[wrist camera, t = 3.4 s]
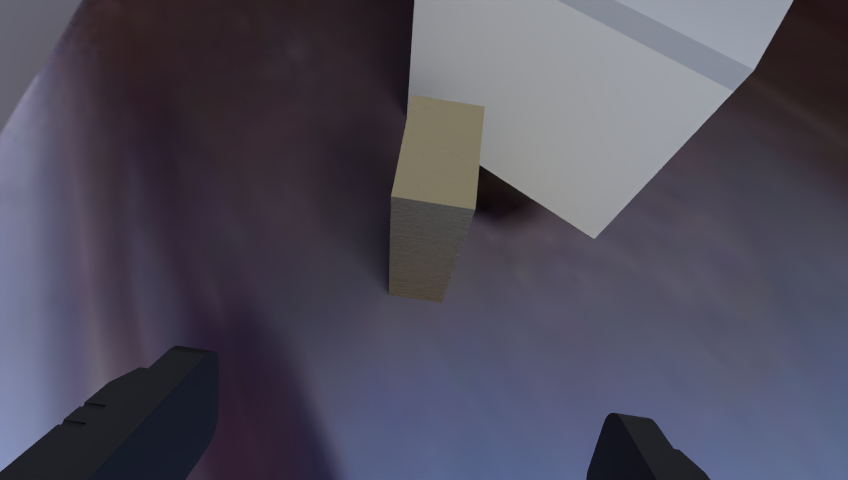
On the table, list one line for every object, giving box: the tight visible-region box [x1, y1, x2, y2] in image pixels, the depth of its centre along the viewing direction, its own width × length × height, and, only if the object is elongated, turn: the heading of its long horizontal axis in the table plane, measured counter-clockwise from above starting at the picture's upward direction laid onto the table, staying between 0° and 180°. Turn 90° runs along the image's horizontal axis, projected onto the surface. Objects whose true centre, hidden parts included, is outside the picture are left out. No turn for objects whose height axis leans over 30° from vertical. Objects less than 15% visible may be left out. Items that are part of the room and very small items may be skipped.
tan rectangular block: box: [389, 95, 485, 303], centre depth 21 cm, size 3×5×10 cm, turn 172°
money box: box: [407, 0, 793, 239], centre depth 26 cm, size 15×16×13 cm
